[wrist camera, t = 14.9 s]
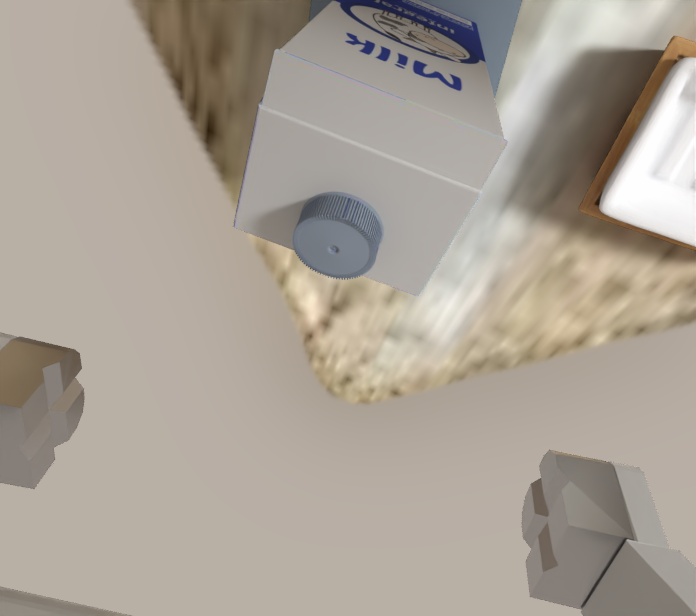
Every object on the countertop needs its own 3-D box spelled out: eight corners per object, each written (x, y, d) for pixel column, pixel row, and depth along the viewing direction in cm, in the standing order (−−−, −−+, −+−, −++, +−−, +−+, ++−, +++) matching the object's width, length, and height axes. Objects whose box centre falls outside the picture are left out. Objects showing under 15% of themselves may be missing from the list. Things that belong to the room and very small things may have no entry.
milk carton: (480, 24, 35) (512, 144, 18) (430, 139, 38) (417, 328, 22) (356, -27, 34) (270, 48, 17) (317, 95, 38) (214, 253, 21)
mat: (529, -33, 33) (530, -32, 33) (473, 168, 39) (474, 171, 39) (321, -72, 34) (319, -72, 33) (297, 133, 40) (295, 135, 39)
